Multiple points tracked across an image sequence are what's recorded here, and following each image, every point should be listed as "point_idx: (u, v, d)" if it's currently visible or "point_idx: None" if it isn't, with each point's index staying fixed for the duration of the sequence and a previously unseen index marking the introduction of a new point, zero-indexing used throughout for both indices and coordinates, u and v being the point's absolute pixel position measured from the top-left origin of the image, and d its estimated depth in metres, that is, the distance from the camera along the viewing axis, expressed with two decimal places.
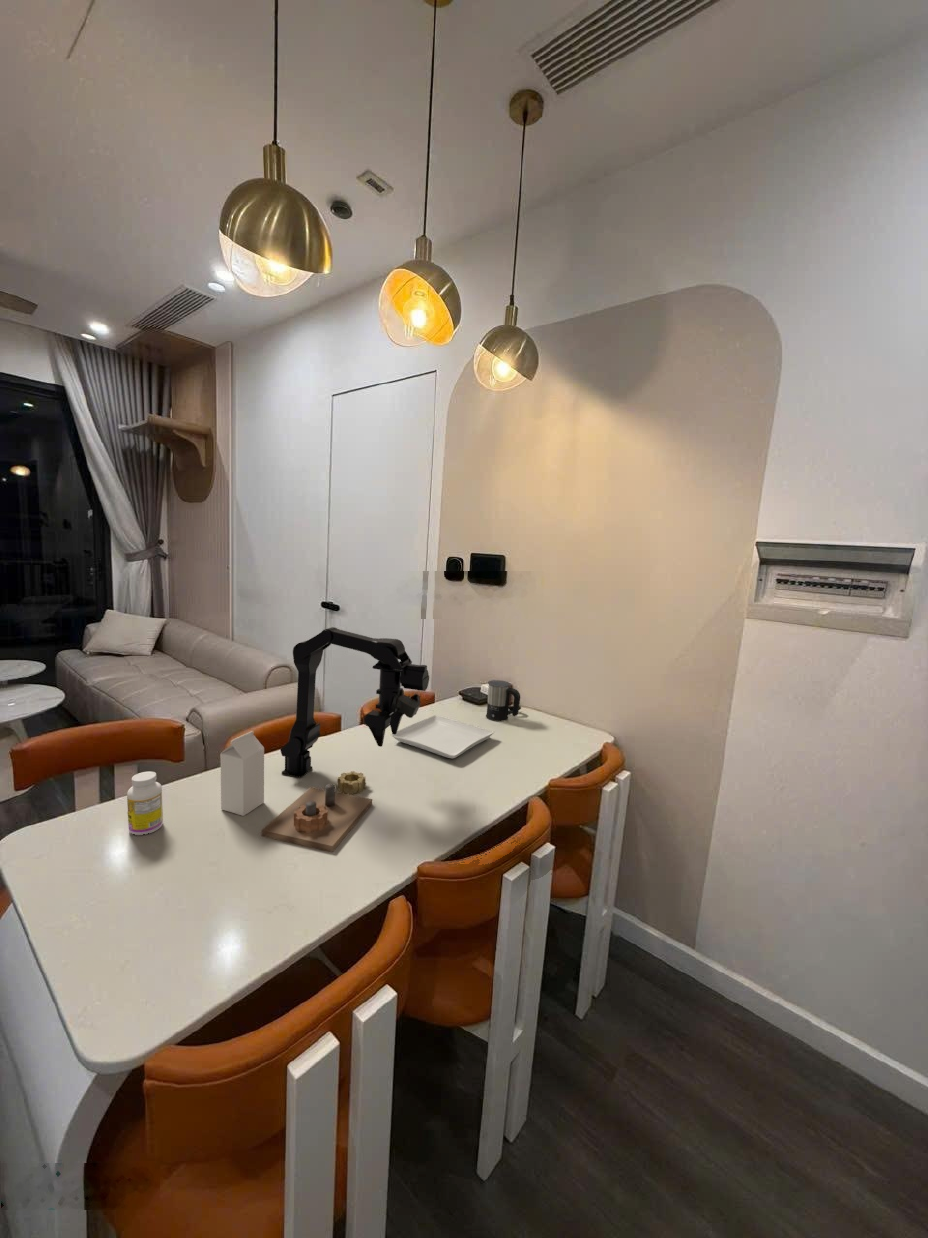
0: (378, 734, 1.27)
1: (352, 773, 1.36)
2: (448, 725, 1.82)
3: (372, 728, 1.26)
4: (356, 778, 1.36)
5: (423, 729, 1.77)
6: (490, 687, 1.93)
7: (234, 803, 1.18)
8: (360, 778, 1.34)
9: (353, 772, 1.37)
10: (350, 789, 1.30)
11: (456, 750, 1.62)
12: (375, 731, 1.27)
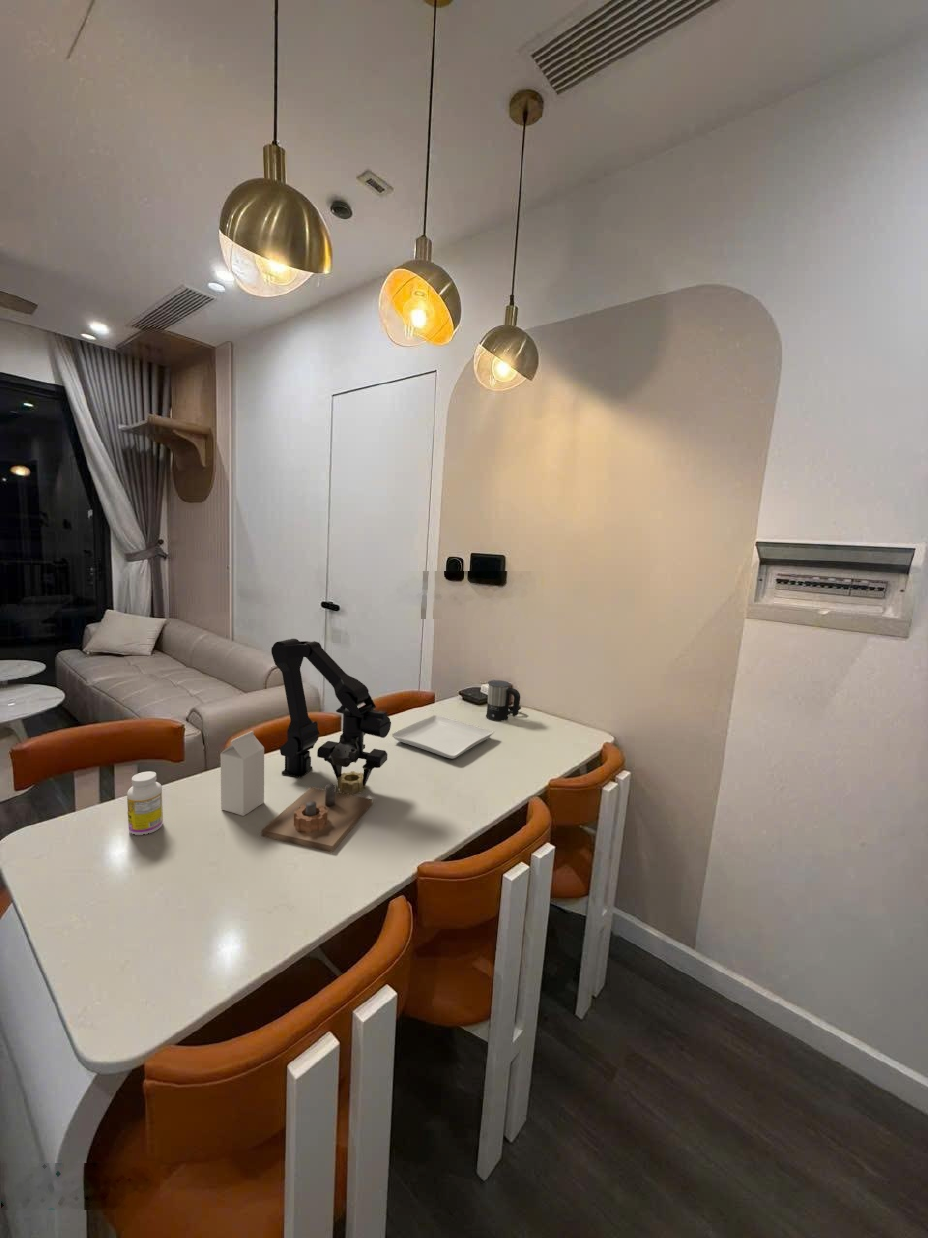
0: None
1: (352, 773, 1.36)
2: (448, 725, 1.82)
3: None
4: (356, 778, 1.36)
5: (423, 729, 1.77)
6: (490, 687, 1.94)
7: (234, 803, 1.18)
8: (360, 778, 1.34)
9: (353, 772, 1.37)
10: (350, 789, 1.30)
11: (456, 750, 1.62)
12: None
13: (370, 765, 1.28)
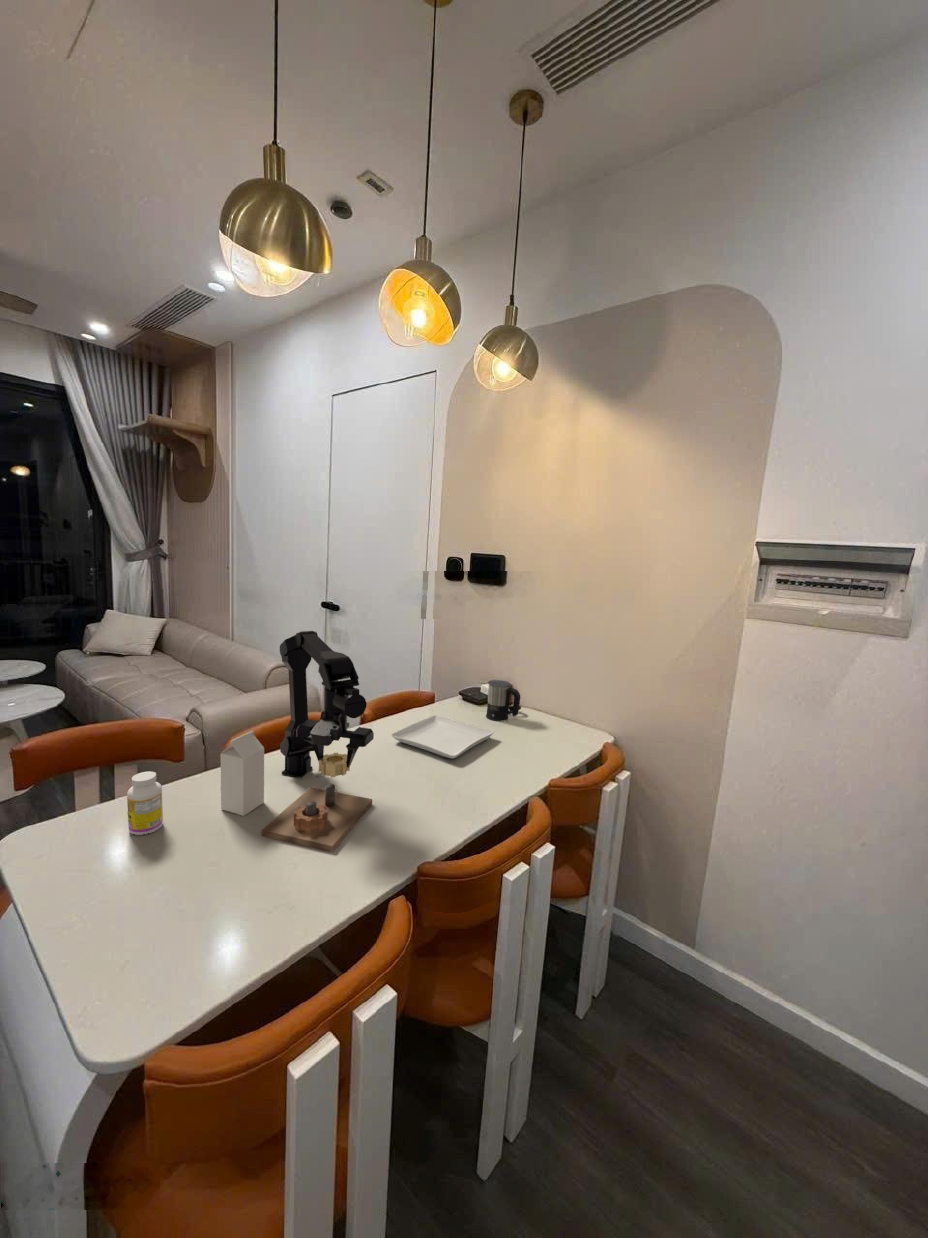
0: None
1: (335, 755, 1.24)
2: (448, 725, 1.82)
3: None
4: (340, 760, 1.24)
5: (423, 729, 1.77)
6: (490, 687, 1.94)
7: (234, 803, 1.18)
8: (343, 759, 1.22)
9: (336, 753, 1.25)
10: (333, 771, 1.19)
11: (456, 750, 1.62)
12: None
13: (354, 744, 1.17)
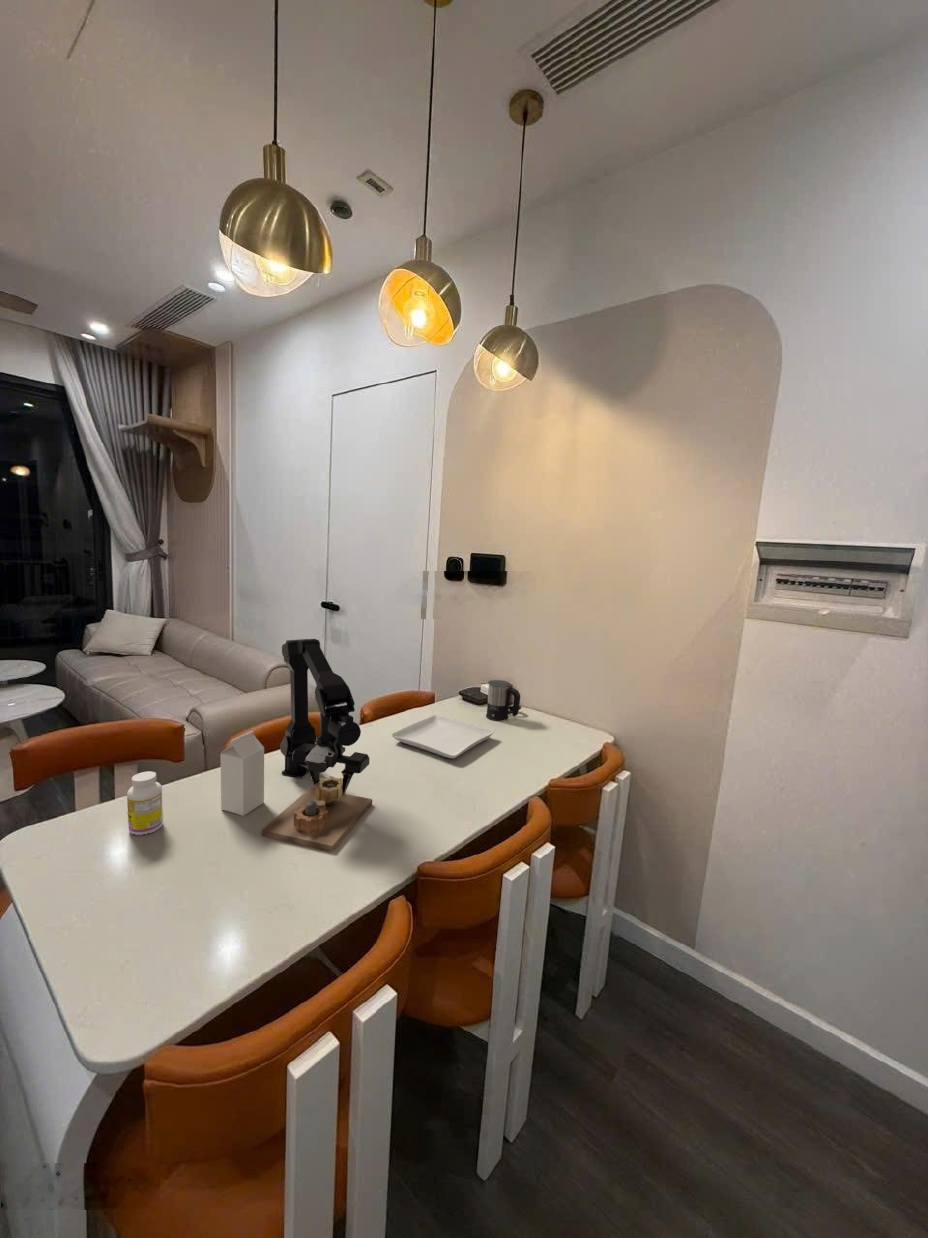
0: None
1: (331, 779, 1.24)
2: (448, 725, 1.82)
3: None
4: (335, 784, 1.24)
5: (423, 729, 1.77)
6: (490, 687, 1.94)
7: (234, 803, 1.18)
8: (339, 784, 1.22)
9: (332, 777, 1.25)
10: (328, 796, 1.18)
11: (456, 750, 1.62)
12: None
13: (350, 770, 1.16)
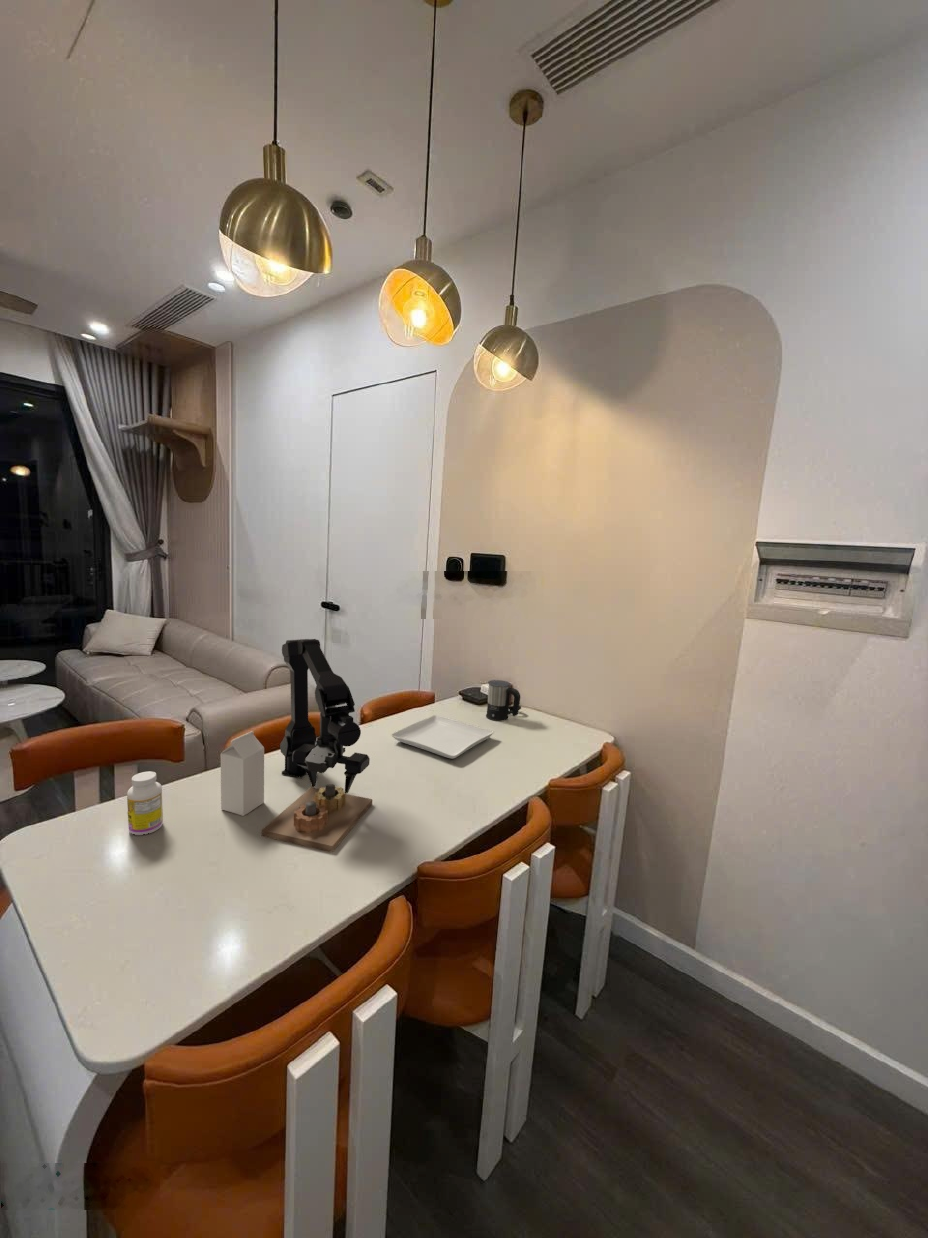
0: None
1: None
2: (448, 725, 1.82)
3: None
4: (335, 793, 1.24)
5: (423, 729, 1.77)
6: (490, 687, 1.94)
7: (234, 803, 1.18)
8: (339, 793, 1.22)
9: None
10: (328, 806, 1.19)
11: (456, 750, 1.62)
12: None
13: (350, 771, 1.16)
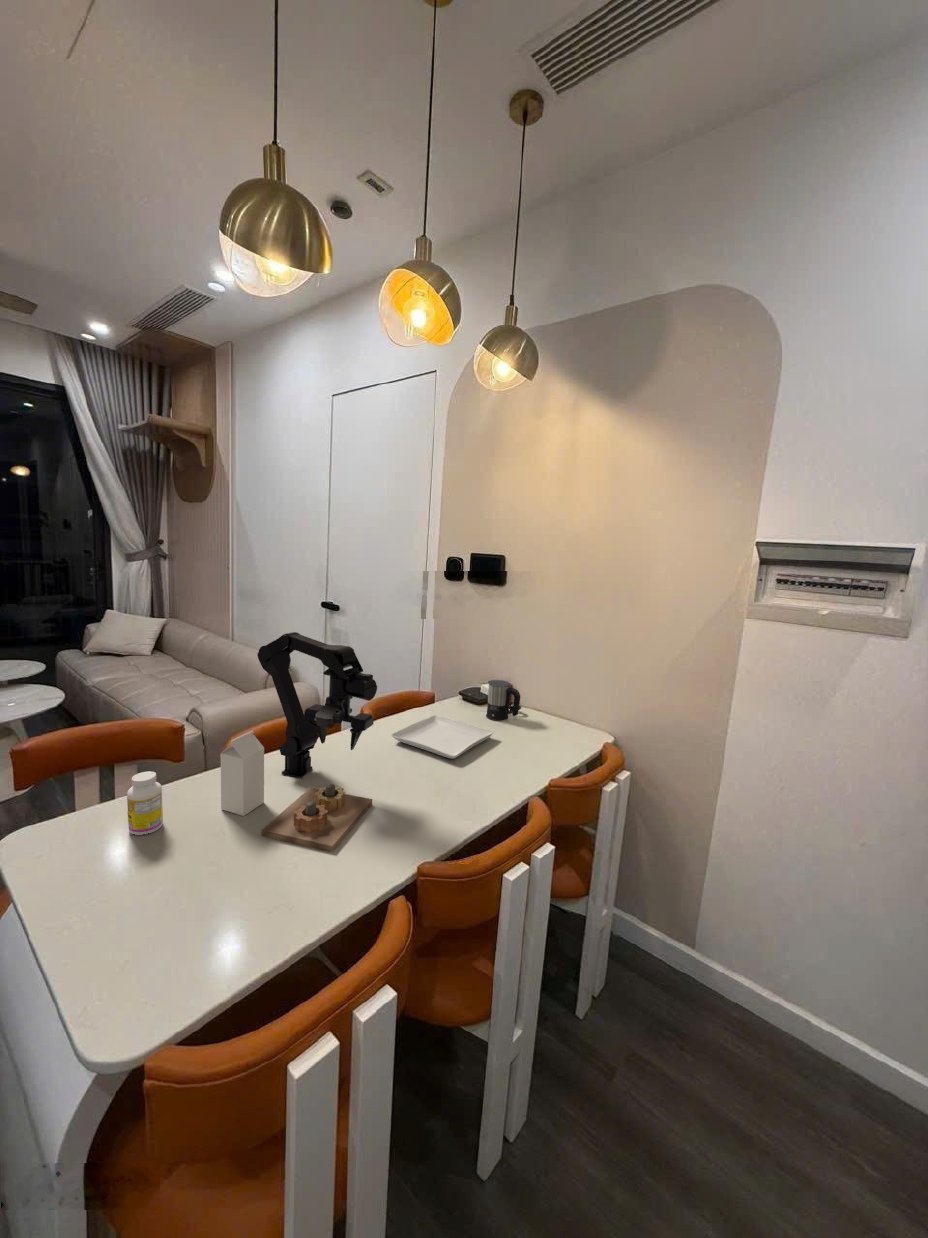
0: None
1: None
2: (448, 725, 1.82)
3: None
4: (335, 793, 1.24)
5: (423, 729, 1.77)
6: (490, 687, 1.94)
7: (234, 803, 1.18)
8: (339, 793, 1.22)
9: None
10: (328, 806, 1.19)
11: (456, 750, 1.62)
12: None
13: (355, 728, 1.28)
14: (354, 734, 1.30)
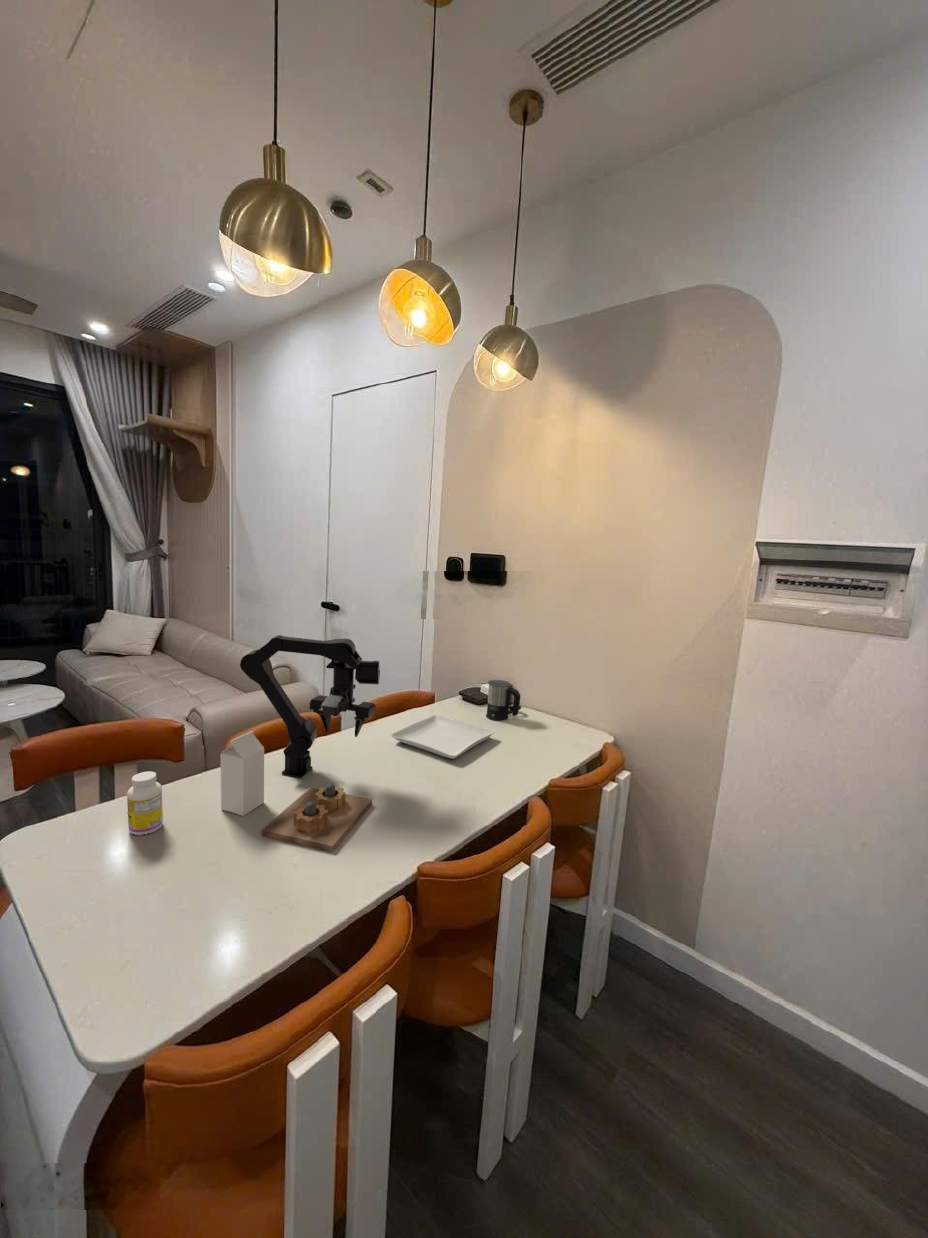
0: None
1: None
2: (448, 725, 1.82)
3: None
4: (335, 793, 1.24)
5: (423, 729, 1.77)
6: (490, 687, 1.94)
7: (234, 803, 1.18)
8: (339, 793, 1.22)
9: None
10: (328, 806, 1.19)
11: (456, 750, 1.62)
12: None
13: (359, 715, 1.35)
14: (358, 721, 1.37)
